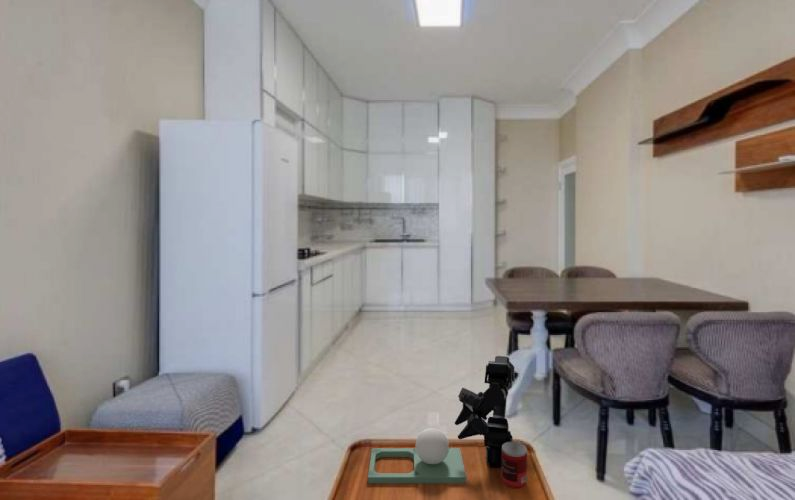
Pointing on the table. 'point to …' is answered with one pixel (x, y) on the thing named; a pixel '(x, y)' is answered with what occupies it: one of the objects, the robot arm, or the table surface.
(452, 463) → the putting board
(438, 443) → the ball
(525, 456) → the canned food
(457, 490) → the table surface
